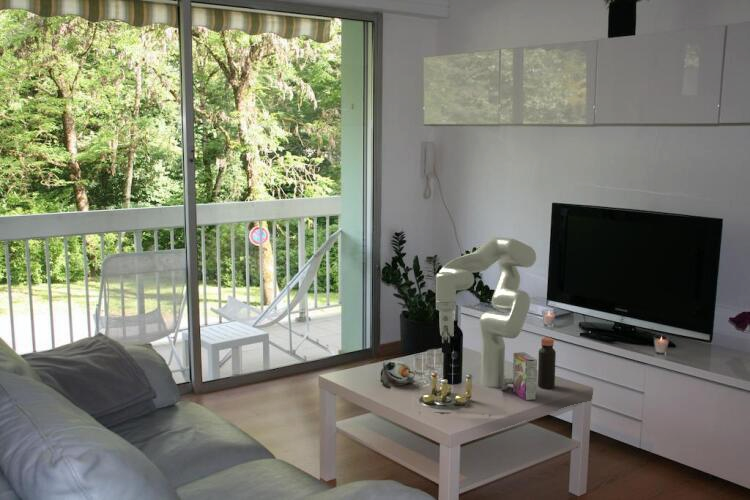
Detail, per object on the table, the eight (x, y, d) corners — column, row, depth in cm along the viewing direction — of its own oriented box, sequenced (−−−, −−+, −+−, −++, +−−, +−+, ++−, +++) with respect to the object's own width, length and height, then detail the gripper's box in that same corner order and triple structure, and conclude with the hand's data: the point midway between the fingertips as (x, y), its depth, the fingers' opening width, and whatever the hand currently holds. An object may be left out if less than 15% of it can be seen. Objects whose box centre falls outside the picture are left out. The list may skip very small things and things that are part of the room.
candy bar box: (512, 392, 314) (512, 352, 312) (523, 391, 315) (524, 351, 313) (525, 401, 303) (526, 360, 301) (536, 399, 305) (537, 359, 302)
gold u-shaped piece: (445, 391, 310) (445, 368, 308) (453, 394, 306) (453, 370, 305) (427, 396, 304) (428, 372, 302) (435, 399, 300) (435, 375, 299)
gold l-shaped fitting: (421, 403, 296) (421, 379, 294) (425, 399, 300) (425, 376, 298) (445, 406, 292) (445, 382, 291) (448, 403, 296) (449, 378, 295)
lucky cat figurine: (418, 381, 328) (422, 357, 320) (406, 400, 319) (411, 376, 311) (386, 368, 333) (389, 344, 324) (373, 386, 324) (377, 362, 315)
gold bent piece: (463, 406, 292) (463, 381, 291) (452, 403, 295) (453, 379, 294) (475, 399, 300) (475, 375, 299) (465, 397, 303) (465, 373, 301)
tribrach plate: (470, 396, 309) (471, 389, 308) (471, 414, 289) (471, 406, 289) (420, 395, 311) (420, 388, 310) (417, 412, 291) (417, 405, 291)
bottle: (557, 386, 321) (559, 339, 318) (548, 390, 316) (549, 342, 314) (543, 382, 326) (545, 336, 323) (534, 386, 321) (535, 339, 318)
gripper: (455, 310, 284) (456, 355, 287) (456, 299, 301) (456, 342, 304) (435, 310, 285) (435, 355, 288) (436, 299, 302) (437, 342, 305)
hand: (446, 349), depth 296 cm, fingers open, 9 cm apart
